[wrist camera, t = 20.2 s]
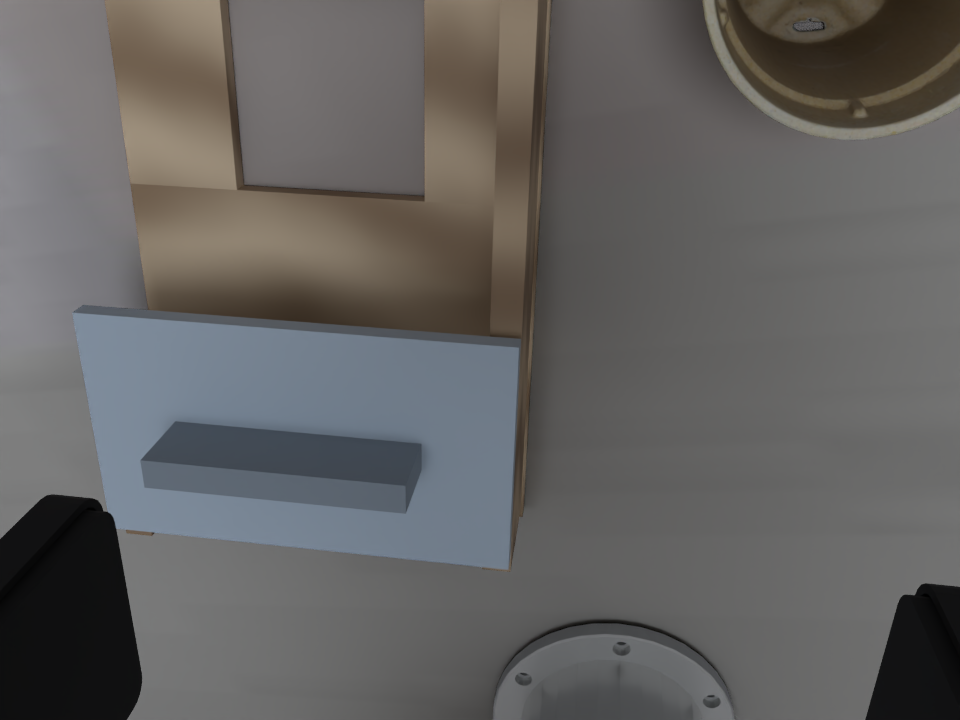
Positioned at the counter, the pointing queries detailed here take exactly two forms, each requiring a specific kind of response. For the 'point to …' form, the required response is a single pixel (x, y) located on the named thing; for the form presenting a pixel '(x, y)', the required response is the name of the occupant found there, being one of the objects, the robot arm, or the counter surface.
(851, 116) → the flower pot
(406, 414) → the lid
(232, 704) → the counter surface
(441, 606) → the counter surface
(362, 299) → the board
